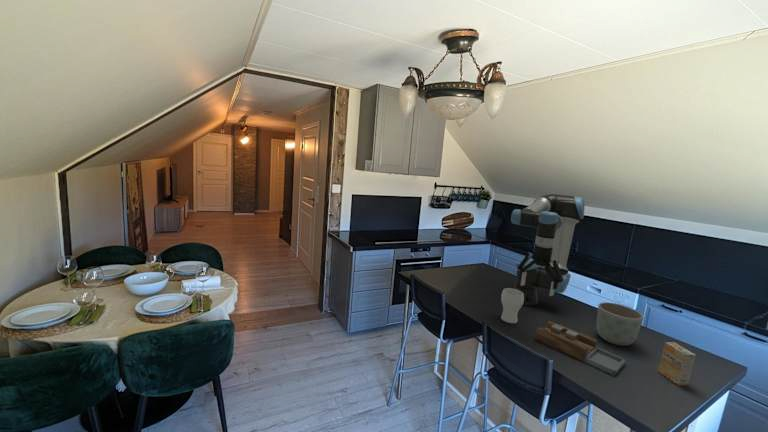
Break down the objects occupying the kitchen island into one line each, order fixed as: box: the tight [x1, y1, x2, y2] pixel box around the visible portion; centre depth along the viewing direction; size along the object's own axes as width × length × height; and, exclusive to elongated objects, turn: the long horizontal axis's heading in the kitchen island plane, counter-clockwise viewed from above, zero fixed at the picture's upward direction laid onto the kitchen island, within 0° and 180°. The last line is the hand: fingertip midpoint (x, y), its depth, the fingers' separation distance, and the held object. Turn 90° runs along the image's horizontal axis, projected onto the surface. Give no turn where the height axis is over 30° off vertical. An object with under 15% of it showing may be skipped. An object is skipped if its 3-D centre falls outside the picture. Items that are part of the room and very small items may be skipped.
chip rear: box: [551, 323, 565, 336], centre depth 146 cm, size 4×4×4 cm
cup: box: [500, 287, 524, 324], centre depth 164 cm, size 11×11×15 cm
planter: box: [595, 301, 644, 347], centre depth 151 cm, size 17×17×15 cm
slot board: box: [535, 320, 598, 363], centre depth 144 cm, size 13×20×6 cm, turn 40°
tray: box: [583, 346, 627, 377], centre depth 133 cm, size 14×11×2 cm
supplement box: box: [657, 341, 697, 386], centre depth 125 cm, size 8×5×13 cm, turn 5°
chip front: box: [565, 329, 580, 342], centre depth 142 cm, size 4×4×4 cm
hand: (536, 290), depth 151 cm, fingers open, 13 cm apart
